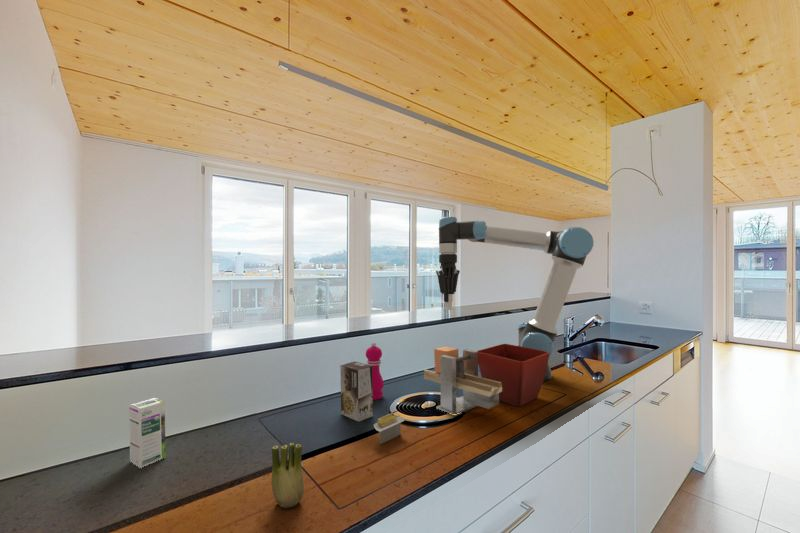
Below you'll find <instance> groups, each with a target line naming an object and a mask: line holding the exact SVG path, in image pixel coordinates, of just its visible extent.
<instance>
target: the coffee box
mask: <svg viewBox="0 0 800 533" xmlns="http://www.w3.org/2000/svg"><path fill="white" fill-rule="evenodd" d="M372 367H373V366H371V365H368V364H367V363H363V362H359V361H351V362H348V363H345V364H342V365H341V364H340V366H339V369H340V411H341V412H340V414H341V416H344V417H347V418H349V419H351V420H354V421H356V422H362V421H364V420H367V419H369V418H372V417H373V416H374V412H373V411H374V410H373V408H374V406H373V405H374V404H373V402H374V400H373V382H372Z"/></svg>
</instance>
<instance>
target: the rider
mask: <svg viewBox="0 0 800 533" xmlns="http://www.w3.org/2000/svg"><path fill="white" fill-rule="evenodd" d="M433 352H434V354H433V355H434V367H435V372H437V373H440V356H442V355H447V356H451V357H455V358H459V355H460V354H459V348H456V347H451V346H446V345H445V346H441V347H437V348H434V349H433Z"/></svg>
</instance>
